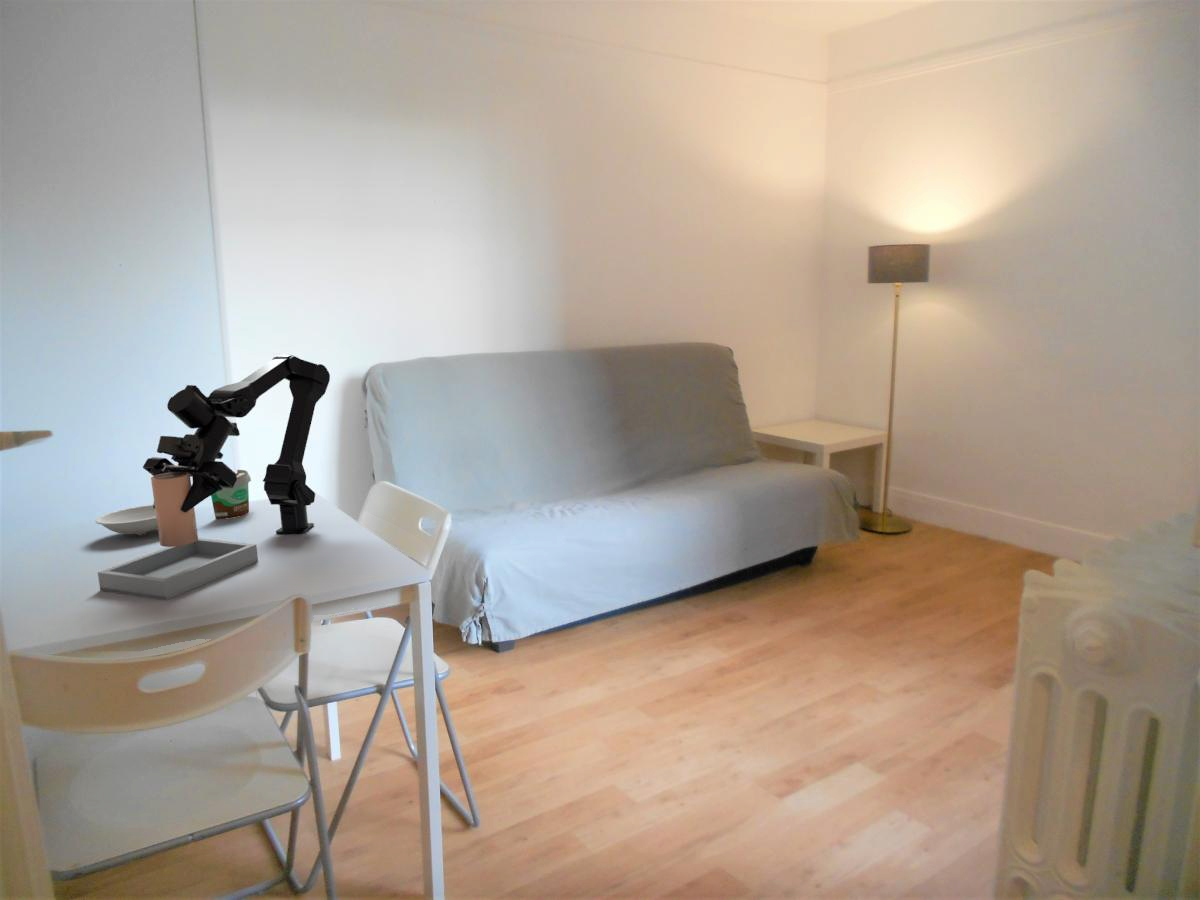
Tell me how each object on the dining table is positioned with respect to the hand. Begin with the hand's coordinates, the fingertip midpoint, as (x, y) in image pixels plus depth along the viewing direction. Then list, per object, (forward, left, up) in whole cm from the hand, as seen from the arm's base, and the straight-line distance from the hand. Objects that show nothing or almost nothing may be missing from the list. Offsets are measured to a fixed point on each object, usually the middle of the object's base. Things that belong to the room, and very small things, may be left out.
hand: (169, 510), depth 159 cm
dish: (-29, -25, -14) cm, 41 cm away
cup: (-1, 0, -7) cm, 7 cm away
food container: (-45, -10, -14) cm, 48 cm away
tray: (-1, 0, -13) cm, 13 cm away
